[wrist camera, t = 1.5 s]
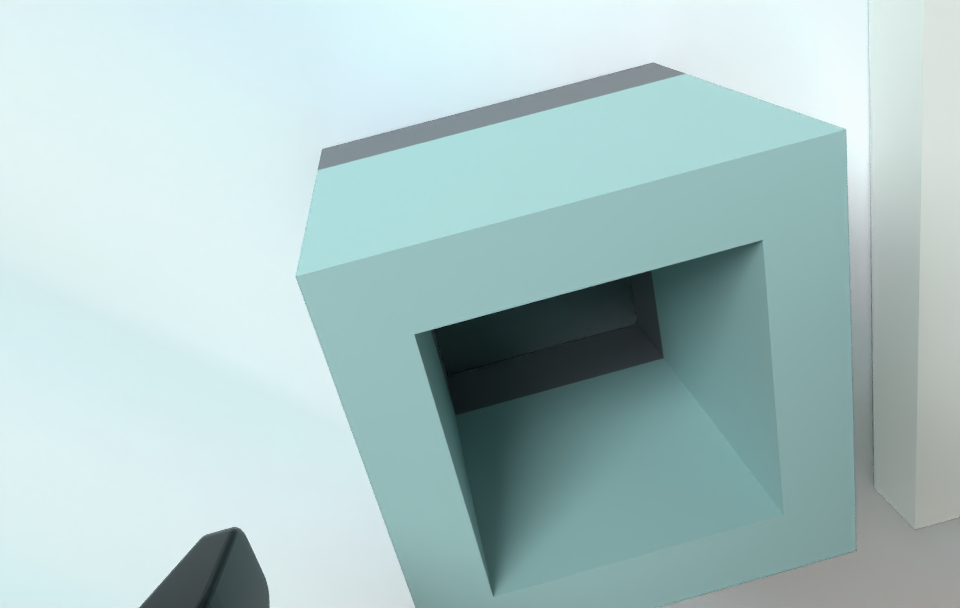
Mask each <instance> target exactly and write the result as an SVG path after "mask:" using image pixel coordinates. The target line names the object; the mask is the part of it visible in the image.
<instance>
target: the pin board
mask: <svg viewBox="0 0 960 608" xmlns="http://www.w3.org/2000/svg"><path fill="white" fill-rule="evenodd" d="M869 72H870V160H871V248H872V337H873V425H874V488H875V489H876V490H877V491H878V493H879V494H880V495H881V496H882V497H883V498H884V499H885V500H886V501H887V502H888V503H889V504H890V505H891V506H892V507H893V508H894V509H895V510H896V511H897V512H898V513H899V514H900V515H901V516H902V517H903V518H904V519H905V520H906V521H907V522H908V523H909V524H910V525H911V526H912V527H913V528H914V529H915V530H917V529H920V528H924V527H927V526H931V525H934V524H938V523H941V522H945V521H948V520H952V519H955V518H959V517H960V0H869Z"/></svg>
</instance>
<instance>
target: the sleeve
mask: <svg viewBox="0 0 960 608" xmlns="http://www.w3.org/2000/svg"><path fill="white" fill-rule="evenodd" d="M628 276H630V278H631V284H632V291H633V297H634V303H635V310H636V316H637V322H638V324H636V325H632V326H628V327H625V328H621V329H617V330H614V331H610V332H606V333H603V334H599V335H595V336H592V337H588V338H584V339H581V340H577V341H573V342H570V343H566V344H562V345H559V346H555V347H551V348H548V349H544V350H540V351H537V352H533V353H529V354H526V355H522V356H518V357H515V358H511V359H507V360H504V361H500V362H496V363H493V364H489V365H486V366H482V367H478V368H475V369H471V370H467V371H464V372H460V373H456V374H453V375H449V376H447V373H446V370H445V366H444V363H443V359H442V356H441V352H440V349H439V345H438V342H437V338H436V335H435V331H434V329H436V328H440V327H443V326H447V325H451V324H454V323H458V322H462V321H465V320H469V319H473V318H477V317H480V316H484V315H488V314H491V313H495V312H499V311H502V310H506V309H510V308H513V307H517V306H521V305H525V304H528V303H532V302H536V301H539V300H543V299H547V298H550V297H554V296H558V295H561V294H565V293H569V292H572V291H576V290H580V289H584V288H587V287H591V286H595V285H598V284H602V283H606V282H609V281H613V280H617V279H620V278H624V277H628ZM296 279H297V281H298V284H299V287H300V290H301V292H302V295H303V298H304V301H305V304H306V306H307V309H308V312H309V315H310V317H311V320H312V323H313V326H314V328H315V331H316V334H317V337H318V339H319V342H320V345H321V348H322V350H323V353H324V356H325V359H326V362H327V364H328V367H329V370H330V373H331V375H332V378H333V381H334V384H335V386H336V389H337V392H338V395H339V397H340V400H341V403H342V406H343V408H344V411H345V414H346V417H347V420H348V422H349V425H350V428H351V431H352V433H353V436H354V439H355V442H356V444H357V447H358V450H359V453H360V455H361V458H362V461H363V464H364V466H365V469H366V472H367V475H368V478H369V480H370V483H371V486H372V489H373V491H374V494H375V497H376V500H377V502H378V505H379V508H380V511H381V513H382V516H383V519H384V522H385V524H386V527H387V530H388V533H389V536H390V538H391V541H392V544H393V547H394V549H395V552H396V555H397V558H398V560H399V563H400V566H401V569H402V571H403V574H404V577H405V580H406V582H407V585H408V588H409V591H410V594H411V596H412V599H413V602H414V605H415V607H416V608H658V607H661V606H665V605H668V604H672V603H675V602H679V601H682V600H686V599H689V598H693V597H696V596H700V595H703V594H707V593H710V592H714V591H717V590H721V589H724V588H728V587H731V586H735V585H738V584H742V583H745V582H749V581H752V580H756V579H759V578H763V577H766V576H770V575H773V574H777V573H780V572H784V571H787V570H791V569H794V568H798V567H801V566H805V565H808V564H812V563H815V562H819V561H822V560H826V559H829V558H833V557H836V556H840V555H843V554H847V553H850V552H854V551H857V550H856V509H855V469H854V428H853V388H852V347H851V307H850V267H849V226H848V186H847V145H846V129H843V128H841V127H838V126H835V125H832V124H829V123H826V122H823V121H820V120H817V119H814V118H812V117H809V116H806V115H803V114H800V113H797V112H794V111H791V110H788V109H786V108H783V107H780V106H777V105H774V104H771V103H768V102H765V101H762V100H760V99H757V98H754V97H751V96H748V95H745V94H742V93H739V92H736V91H734V90H731V89H728V88H725V87H722V86H719V85H716V84H713V83H710V82H708V81H705V80H702V79H699V78H696V77H693V76H690V75H687V74H684V73H682V72H679V71H676V70H673V69H670V68H667V67H664V66H661V65H658V64H656V63H650V64H646V65H642V66H639V67H635V68H631V69H627V70H623V71H619V72H616V73H612V74H608V75H604V76H600V77H597V78H593V79H589V80H585V81H581V82H577V83H574V84H570V85H566V86H562V87H558V88H555V89H551V90H547V91H543V92H539V93H535V94H532V95H528V96H524V97H520V98H516V99H513V100H509V101H505V102H501V103H497V104H493V105H490V106H486V107H482V108H478V109H474V110H470V111H467V112H463V113H459V114H455V115H451V116H448V117H444V118H440V119H436V120H432V121H428V122H425V123H421V124H417V125H413V126H409V127H406V128H402V129H398V130H394V131H390V132H386V133H383V134H379V135H375V136H371V137H367V138H364V139H360V140H356V141H352V142H348V143H344V144H341V145H337V146H333V147H329V148H325V149H322V153H321V157H320V162H319V167H318V172H317V177H316V181H315V186H314V191H313V196H312V201H311V205H310V210H309V215H308V220H307V225H306V229H305V234H304V239H303V244H302V248H301V253H300V258H299V263H298V268H297V272H296Z"/></svg>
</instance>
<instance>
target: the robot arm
mask: <svg viewBox="0 0 960 608" xmlns="http://www.w3.org/2000/svg"><path fill="white" fill-rule="evenodd" d="M139 608H269V590H268V585H267V582H266V578H265V576H264V574H263V572H262V569H261V567H260V565H259V563H258V561H257V559H256V556H255V554H254V552H253V550H252V548H251V546H250V543H249V541H248V539H247V537H246V535H245V534H244V532H243V531H242V530H241V529H239V528H237V527H232V528H228V529H225V530H221V531H218V532H214V533H210V534H207V535H205V536H203V537H202V538H201V539H200V540H199V541H198V542H197V543H196V545H195V546H194V547H193V548H192V549H191V550H190V551H189V552H188V554H187V555H186V556H185V557H184V558H183V559H182V560H181V561H180V562H179V564H178V565H177V566H176V567H175V568H174V569H173V570H172V571H171V573H170V574H169V575H168V576H167V577H166V578H165V579H164V580H163V582H162V583H161V584H160V585H159V586H158V587H157V588H156V589H155V591H154V592H153V593H152V594H151V595H150V596H149V597H148V598H147V600H146V601H145V602H144V603H143V604H142V605H141V606H140V607H139Z"/></svg>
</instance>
